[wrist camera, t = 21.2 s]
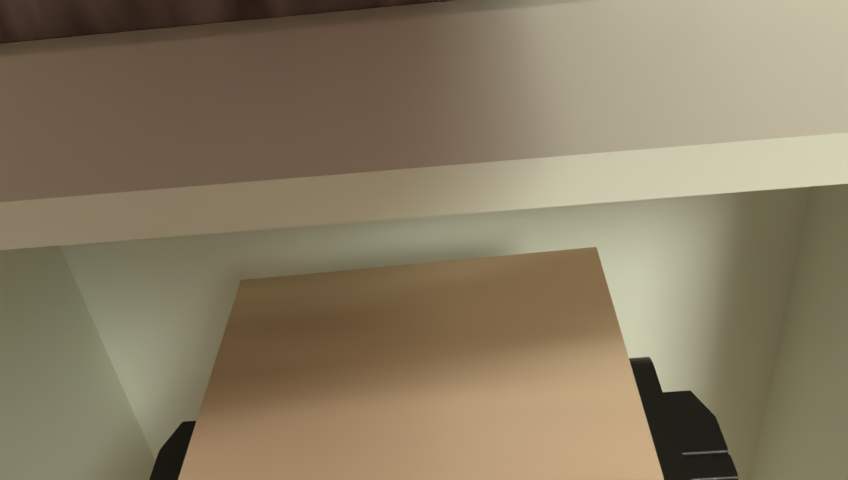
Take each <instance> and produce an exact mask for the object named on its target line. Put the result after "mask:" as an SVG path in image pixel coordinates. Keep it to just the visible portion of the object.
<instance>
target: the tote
mask: <svg viewBox="0 0 848 480" xmlns="http://www.w3.org/2000/svg"><path fill="white" fill-rule="evenodd" d="M590 247H597V251H598V254H599V258H600V261H601V264H602V268H603V271H604V275H605V278H606V282H607V285H608V288H609V292H610V295H611V299H612V302H613V306H614V309H615V312H616V316H617V319H618V323H619V326H620V330H621V333H622V336H623V340H624V343H625V347H626V350H627V354H628V357H629V358H639V357H650V358H651V360H652V362H653V364H654V367H655V370H656V373H657V376H658V379H659V383H660V386H661V389H662V392H675V391H690V390H691V391H692V392H693V393H694V395H695V396H696V397H697V398H698V399H699V400H700V401H701V402H702V403H703V404H704V405H705V406H706V407H707V408H708V409H709V410H710V411H711V412H712V413H713V414H714V416H715V417H716V419H717V421H718V424H719V426H720V429H721V432H722V434H723V437H724V439H725V442H726V445H727V447H728V454H729V455H731V458H732V460H733V463H734V465H735V468H736V471H737V473H738V480H848V0H453V1H443V2H432V3H421V4H411V5H400V6H390V7H379V8H369V9H358V10H348V11H337V12H327V13H316V14H306V15H295V16H285V17H274V18H264V19H253V20H243V21H232V22H222V23H211V24H201V25H190V26H180V27H169V28H158V29H148V30H137V31H127V32H116V33H106V34H95V35H85V36H74V37H64V38H53V39H43V40H32V41H22V42H11V43H1V44H0V480H149V479H150V476H151V473H152V470H153V467H154V464H155V461H156V459H157V456H158V453H159V450H160V449H161V448H162V446H163V445H164V444H165V443H166V441H167V440H168V439H169V438H170V436H171V435H172V434H173V433H174V432H175V430H176V429H177V428H178V427H179V425H180V424H181V423H182V422H185V421H197V417H198V414H199V411H200V408H201V405H202V402H203V398H204V395H205V392H206V389H207V386H208V382H209V379H210V376H211V373H212V370H213V366H214V363H215V360H216V357H217V354H218V351H219V347H220V344H221V341H222V338H223V335H224V331H225V328H226V325H227V322H228V319H229V315H230V312H231V309H232V306H233V303H234V299H235V296H236V293H237V290H238V287H239V284H240V280H247V279H258V278H269V277H279V276H290V275H301V274H311V273H322V272H333V271H344V270H354V269H365V268H376V267H386V266H397V265H408V264H419V263H429V262H440V261H451V260H462V259H472V258H483V257H494V256H504V255H515V254H526V253H537V252H547V251H558V250H569V249H579V248H590Z"/></svg>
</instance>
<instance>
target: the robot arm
mask: <svg viewBox="0 0 848 480" xmlns="http://www.w3.org/2000/svg"><path fill="white" fill-rule="evenodd" d="M629 360H630V364H631V367H632V371H633V374H634V378H635V381H636V385H637V388H638V391H639V395H640V398H641V402H642V405H643V409H644V412H645V415H646V419H647V422H648V426H649V429H650V433H651V436H652V439H653V443H654V446H655V450H656V453H657V457H658V460H659V463H660V467H661V470H662V474H663V477H664V480H738V473H737V471H736V468H735V465H734V463H733V460H732V458H731V455H729V454H728V447H727V445H726V442H725V439H724V437H723V434H722V432H721V429H720V426H719V424H718V421H717V419H716V417H715V416H714V414H713V413H712V412H711V411H710V410H709V409H708V408H707V407H706V406H705V405H704V404H703V403H702V402H701V401H700V400H699V399H698V398H697V397H696V396H695V395H694V393H693V392H692V391H691V390H690V391H675V392H662V389H661V386H660V383H659V379H658V376H657V373H656V370H655V367H654V364H653V362H652V360H651V358H650V357H639V358H629ZM195 424H196V421H185V422H182V423H181V424H180V425H179V427H178V428H177V429H176V430H175V432H174V433H173V434H172V435H171V436H170V438H169V439H168V440H167V441H166V443H165V444H164V445H163V446H162V448H161V449H160V450H159V453H158V456H157V459H156V461H155V464H154V467H153V470H152V473H151V476H150V479H149V480H178V478H179V475H180V472H181V468H182V465H183V462H184V459H185V456H186V453H187V449H188V446H189V443H190V440H191V437H192V433H193V430H194V427H195Z"/></svg>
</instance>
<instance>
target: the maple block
mask: <svg viewBox="0 0 848 480" xmlns="http://www.w3.org/2000/svg"><path fill="white" fill-rule="evenodd" d="M178 480H664V477H663V474H662V470H661V467H660V463H659V460H658V457H657V453H656V450H655V446H654V443H653V439H652V436H651V433H650V429H649V426H648V422H647V419H646V415H645V412H644V409H643V405H642V402H641V398H640V395H639V391H638V388H637V385H636V381H635V378H634V374H633V371H632V367H631V364H630V360H629V357H628V354H627V350H626V347H625V343H624V340H623V336H622V333H621V330H620V326H619V323H618V319H617V316H616V312H615V309H614V306H613V302H612V299H611V295H610V292H609V288H608V285H607V282H606V278H605V275H604V271H603V268H602V264H601V261H600V258H599V254H598V251H597V247H590V248H579V249H569V250H558V251H547V252H537V253H526V254H515V255H504V256H494V257H483V258H472V259H462V260H451V261H440V262H429V263H419V264H408V265H397V266H386V267H376V268H365V269H354V270H344V271H333V272H322V273H311V274H301V275H290V276H279V277H269V278H258V279H247V280H240V284H239V287H238V290H237V293H236V296H235V299H234V303H233V306H232V309H231V312H230V315H229V319H228V322H227V325H226V328H225V331H224V335H223V338H222V341H221V344H220V347H219V351H218V354H217V357H216V360H215V363H214V366H213V370H212V373H211V376H210V379H209V382H208V386H207V389H206V392H205V395H204V398H203V402H202V405H201V408H200V411H199V414H198V417H197V421H196V424H195V427H194V430H193V433H192V437H191V440H190V443H189V446H188V449H187V453H186V456H185V459H184V462H183V465H182V468H181V472H180V475H179V478H178Z"/></svg>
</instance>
